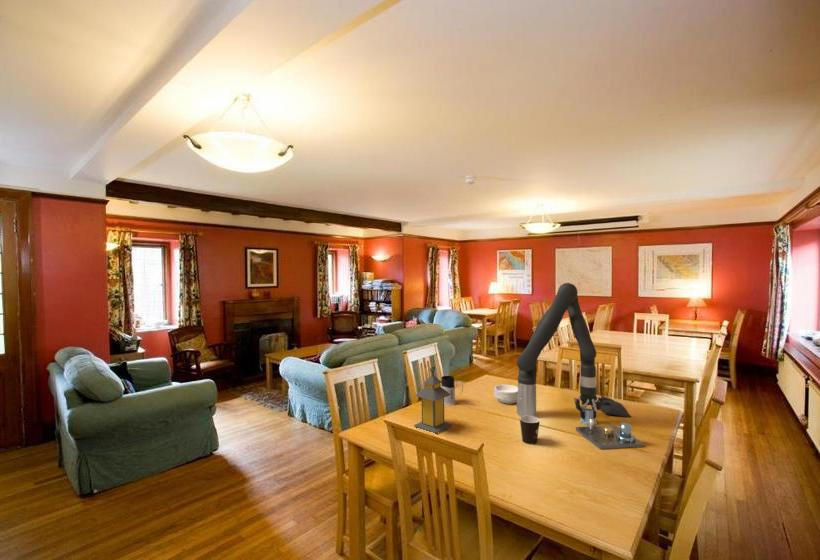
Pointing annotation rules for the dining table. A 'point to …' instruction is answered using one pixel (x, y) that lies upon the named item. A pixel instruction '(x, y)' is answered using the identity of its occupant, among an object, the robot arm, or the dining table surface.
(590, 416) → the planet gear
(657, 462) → the dining table surface
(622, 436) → the gear carrier
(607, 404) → the dark slate chunk
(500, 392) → the paper bowls
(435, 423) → the lantern
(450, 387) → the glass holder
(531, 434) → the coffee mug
